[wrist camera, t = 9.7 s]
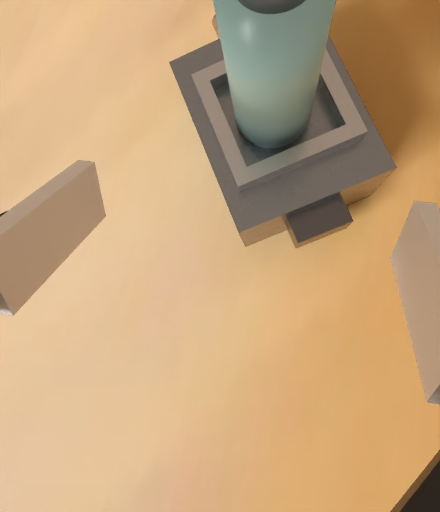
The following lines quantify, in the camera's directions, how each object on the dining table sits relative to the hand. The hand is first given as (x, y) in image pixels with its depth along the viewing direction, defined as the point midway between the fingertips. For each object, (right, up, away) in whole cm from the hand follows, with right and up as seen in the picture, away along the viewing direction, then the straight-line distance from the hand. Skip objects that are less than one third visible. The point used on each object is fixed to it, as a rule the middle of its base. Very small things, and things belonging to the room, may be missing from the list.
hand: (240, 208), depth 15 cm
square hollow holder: (+4, +7, +15) cm, 17 cm away
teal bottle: (+3, +8, +9) cm, 13 cm away
